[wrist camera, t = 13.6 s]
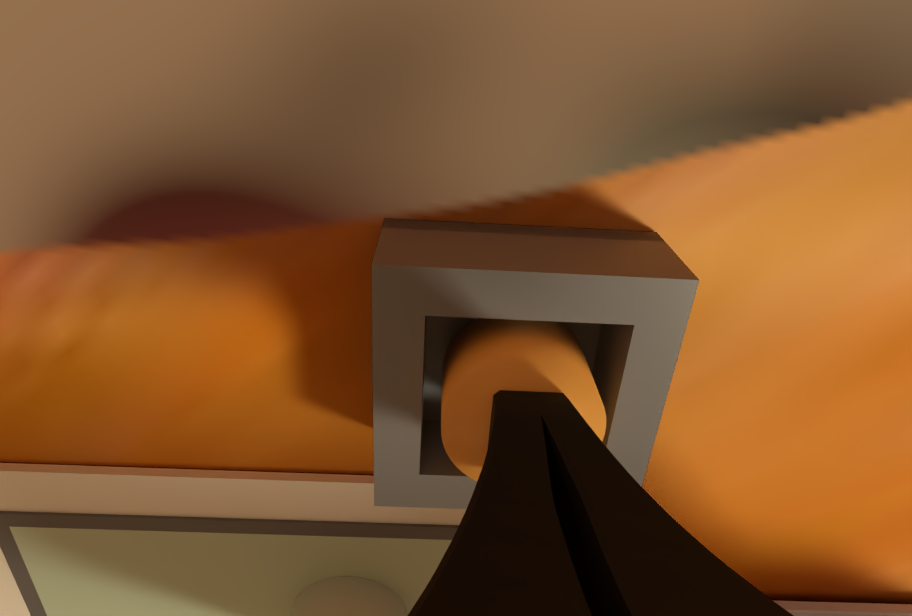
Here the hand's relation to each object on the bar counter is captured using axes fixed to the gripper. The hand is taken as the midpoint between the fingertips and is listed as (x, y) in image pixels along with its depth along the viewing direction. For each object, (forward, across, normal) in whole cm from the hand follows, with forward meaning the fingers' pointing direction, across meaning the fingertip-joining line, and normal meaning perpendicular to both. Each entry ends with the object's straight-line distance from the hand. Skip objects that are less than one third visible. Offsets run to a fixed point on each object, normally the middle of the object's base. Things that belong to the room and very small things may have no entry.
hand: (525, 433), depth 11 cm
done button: (+2, 0, 0) cm, 2 cm away
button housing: (+3, 0, 0) cm, 3 cm away
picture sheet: (+3, +6, +10) cm, 12 cm away
